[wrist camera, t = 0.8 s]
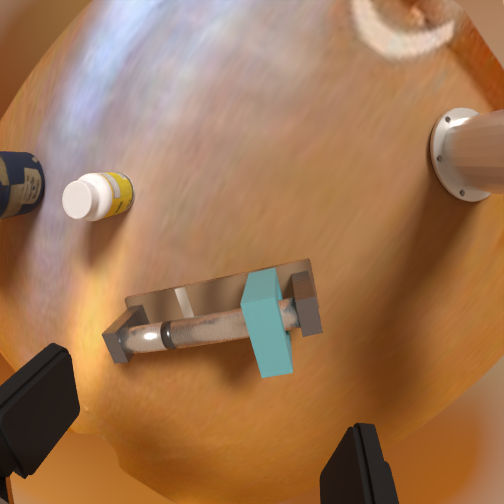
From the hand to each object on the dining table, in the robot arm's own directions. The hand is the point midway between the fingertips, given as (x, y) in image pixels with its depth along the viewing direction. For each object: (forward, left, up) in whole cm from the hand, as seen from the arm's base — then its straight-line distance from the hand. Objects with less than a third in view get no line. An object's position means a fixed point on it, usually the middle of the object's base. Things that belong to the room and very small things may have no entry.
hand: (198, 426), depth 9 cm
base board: (+7, +7, -30) cm, 31 cm away
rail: (+7, +7, -30) cm, 31 cm away
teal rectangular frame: (0, +7, -26) cm, 27 cm away
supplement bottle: (+16, -10, -30) cm, 35 cm away
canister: (+32, -17, -30) cm, 47 cm away
